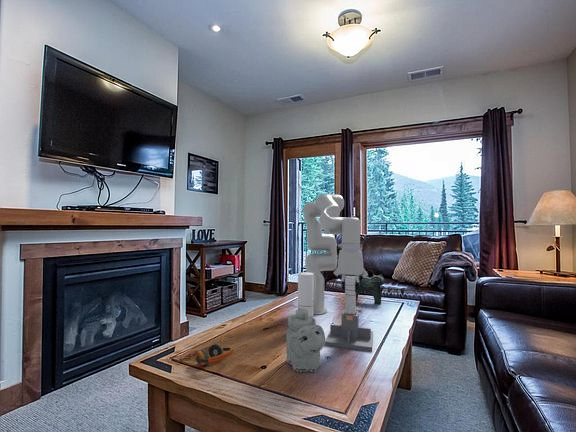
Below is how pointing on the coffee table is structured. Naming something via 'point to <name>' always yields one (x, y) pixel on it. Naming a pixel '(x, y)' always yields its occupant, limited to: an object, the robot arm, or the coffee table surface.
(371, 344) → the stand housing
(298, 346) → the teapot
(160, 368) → the coffee table surface
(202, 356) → the headphones
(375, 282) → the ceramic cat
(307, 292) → the cylindrical container
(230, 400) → the coffee table surface
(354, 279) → the steel post
